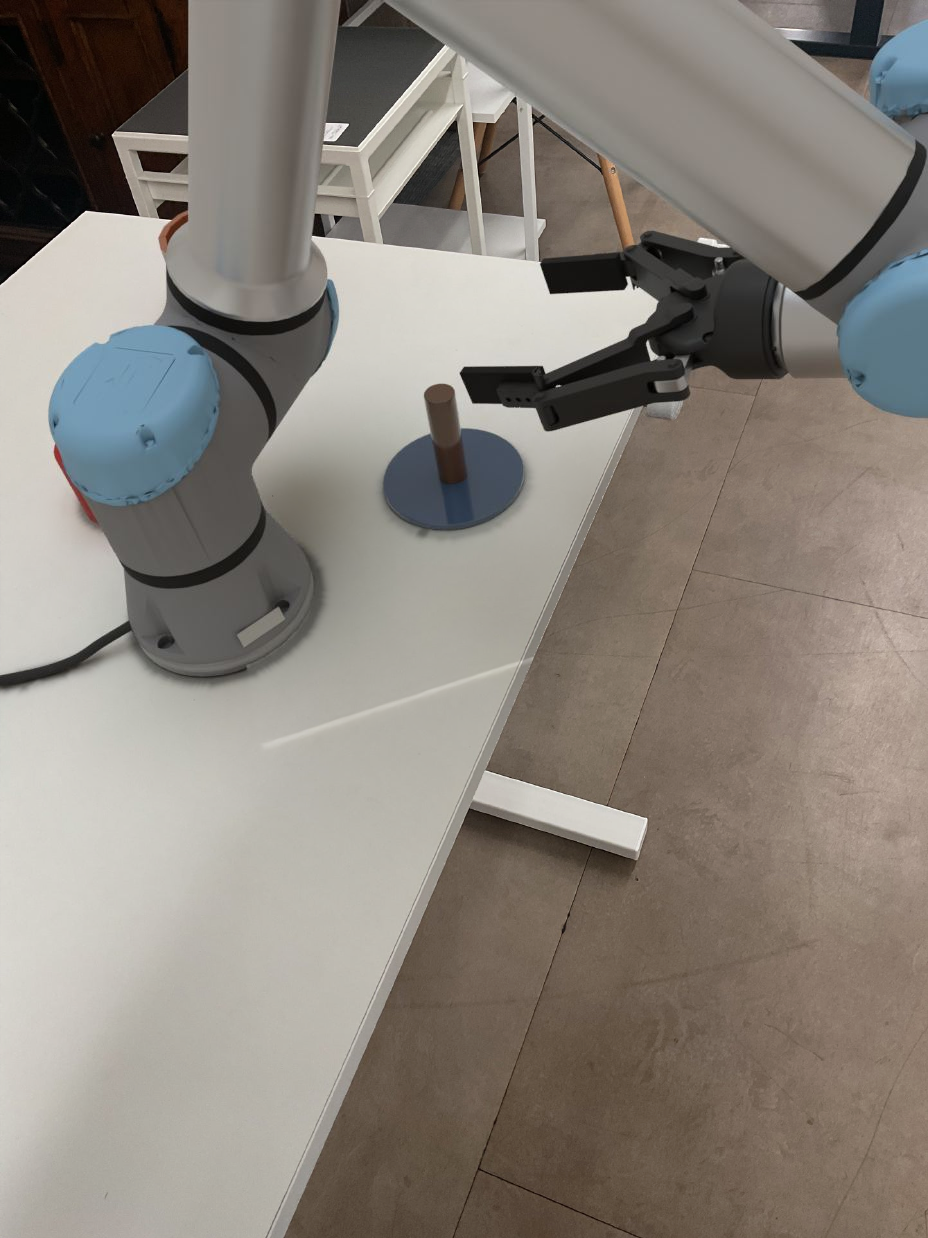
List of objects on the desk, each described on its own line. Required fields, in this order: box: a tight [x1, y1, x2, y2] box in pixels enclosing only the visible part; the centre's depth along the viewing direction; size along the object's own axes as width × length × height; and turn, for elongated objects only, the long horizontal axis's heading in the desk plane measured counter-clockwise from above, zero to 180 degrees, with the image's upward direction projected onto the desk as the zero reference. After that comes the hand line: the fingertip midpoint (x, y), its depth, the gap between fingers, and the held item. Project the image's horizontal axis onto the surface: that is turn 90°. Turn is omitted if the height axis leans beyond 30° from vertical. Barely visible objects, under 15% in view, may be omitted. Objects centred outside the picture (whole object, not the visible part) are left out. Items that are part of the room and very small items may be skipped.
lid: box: [382, 383, 525, 531], centre depth 87 cm, size 13×13×10 cm
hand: (508, 328), depth 76 cm, fingers open, 13 cm apart
